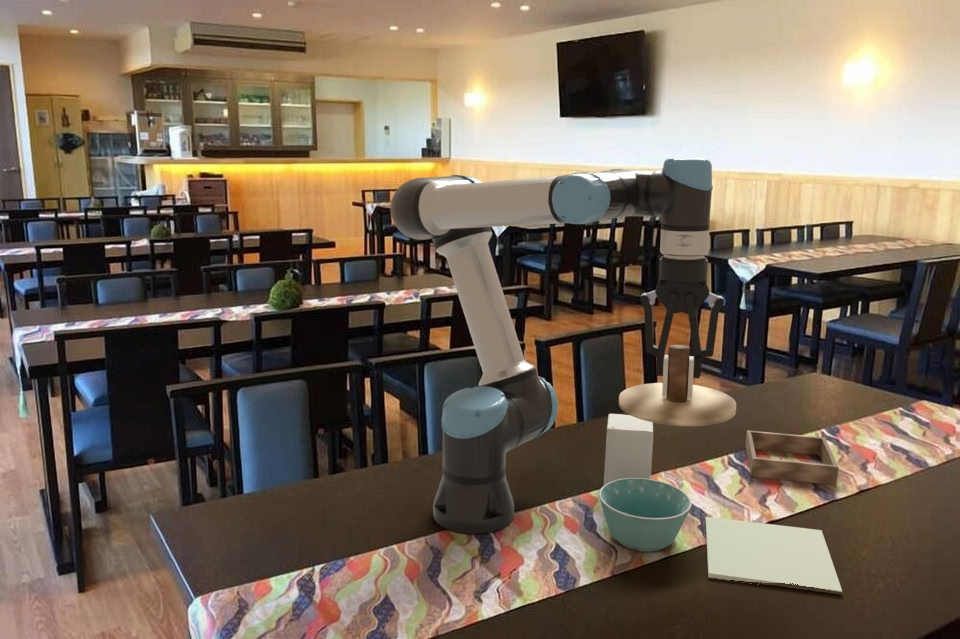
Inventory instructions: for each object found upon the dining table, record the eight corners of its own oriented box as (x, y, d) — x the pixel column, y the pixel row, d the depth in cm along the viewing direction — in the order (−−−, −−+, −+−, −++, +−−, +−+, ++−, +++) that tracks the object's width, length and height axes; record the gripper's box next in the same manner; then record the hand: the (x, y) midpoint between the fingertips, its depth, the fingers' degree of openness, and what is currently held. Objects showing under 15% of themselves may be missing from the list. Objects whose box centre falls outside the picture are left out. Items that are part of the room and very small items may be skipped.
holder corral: (751, 476, 167) (752, 458, 166) (745, 446, 182) (746, 430, 181) (836, 485, 163) (838, 467, 162) (823, 454, 178) (825, 437, 177)
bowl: (704, 539, 141) (708, 496, 139) (657, 573, 130) (660, 527, 128) (629, 510, 151) (631, 470, 149) (579, 540, 140) (581, 496, 138)
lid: (612, 420, 127) (614, 358, 125) (624, 385, 145) (626, 331, 142) (737, 430, 122) (742, 366, 120) (734, 393, 140) (737, 337, 137)
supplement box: (649, 505, 153) (654, 432, 150) (602, 500, 155) (605, 428, 152) (649, 485, 162) (653, 415, 159) (604, 481, 164) (608, 412, 160)
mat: (708, 577, 129) (708, 573, 128) (705, 520, 147) (705, 516, 147) (841, 595, 124) (842, 591, 124) (821, 534, 143) (821, 530, 143)
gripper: (630, 257, 126) (625, 398, 132) (738, 260, 122) (729, 406, 127) (633, 251, 134) (629, 385, 139) (736, 254, 129) (727, 392, 134)
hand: (677, 395), depth 133 cm, fingers closed on lid, 3 cm apart
